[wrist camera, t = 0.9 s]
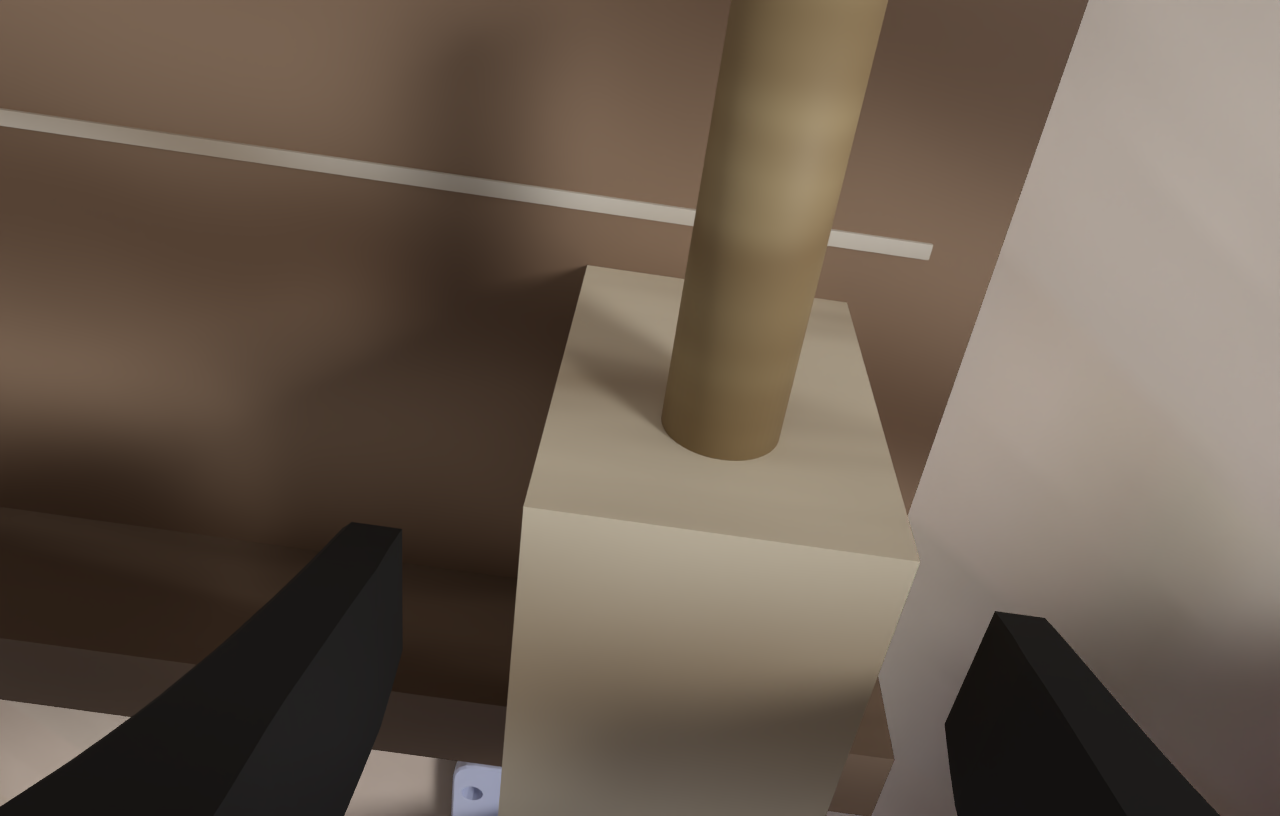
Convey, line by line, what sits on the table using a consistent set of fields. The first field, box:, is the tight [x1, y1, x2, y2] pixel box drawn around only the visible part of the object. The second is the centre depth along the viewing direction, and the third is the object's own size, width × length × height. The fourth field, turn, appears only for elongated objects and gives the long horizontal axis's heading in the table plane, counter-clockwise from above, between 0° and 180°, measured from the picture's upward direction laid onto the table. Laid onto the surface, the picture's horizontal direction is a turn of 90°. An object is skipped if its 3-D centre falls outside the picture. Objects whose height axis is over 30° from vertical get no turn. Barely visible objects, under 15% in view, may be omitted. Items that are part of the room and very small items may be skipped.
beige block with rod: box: [498, 0, 920, 816], centre depth 12 cm, size 10×4×6 cm, turn 173°
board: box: [0, 0, 1089, 816], centre depth 15 cm, size 14×24×5 cm, turn 83°
